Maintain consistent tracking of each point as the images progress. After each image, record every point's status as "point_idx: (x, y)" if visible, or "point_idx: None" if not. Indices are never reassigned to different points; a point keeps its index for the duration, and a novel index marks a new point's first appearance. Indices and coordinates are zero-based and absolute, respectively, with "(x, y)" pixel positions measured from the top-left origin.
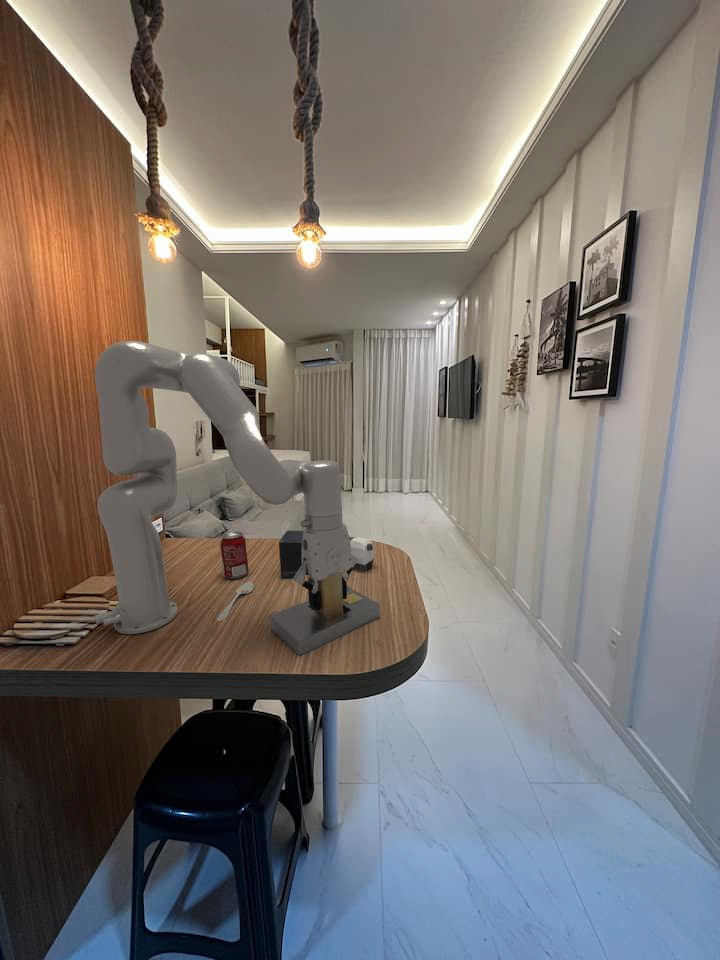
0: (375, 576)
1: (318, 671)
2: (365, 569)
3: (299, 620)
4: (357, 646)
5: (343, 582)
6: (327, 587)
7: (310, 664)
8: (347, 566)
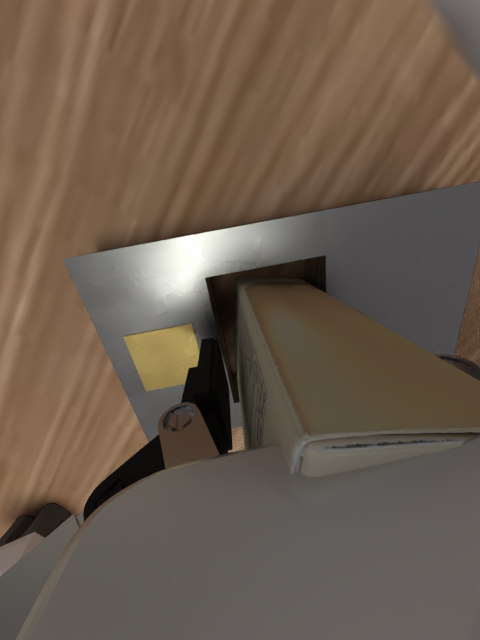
0: (25, 473)
1: (451, 50)
2: (44, 512)
3: (402, 315)
4: (260, 110)
5: (210, 397)
6: (391, 346)
7: (443, 116)
8: (156, 532)
